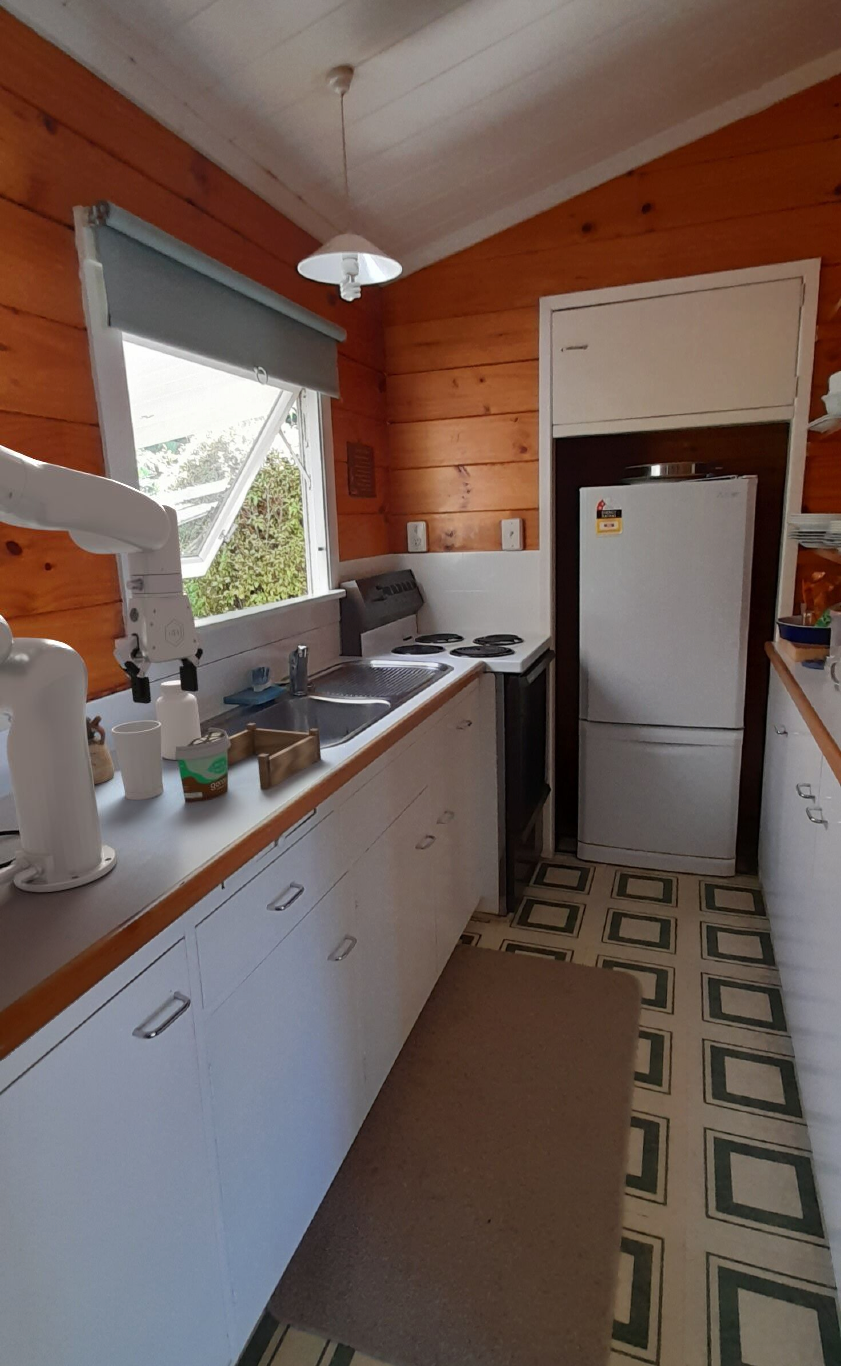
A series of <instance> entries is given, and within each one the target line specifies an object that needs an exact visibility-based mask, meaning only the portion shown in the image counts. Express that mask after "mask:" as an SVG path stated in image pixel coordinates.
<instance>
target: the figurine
mask: <svg viewBox="0 0 841 1366" xmlns="http://www.w3.org/2000/svg"><path fill="white" fill-rule="evenodd" d="M101 720H102V717H101V716H100V715H96V716H95V717H94V718H93V720H92V718H91V717H89V716H88V715H86V728H87V738H88V746H89V753H90V759H91V766H92V773H93V781H94V785H98V784H101V783H104V782H108V781H110V780H112V778H114V775H115V768H114V767H115V766H114V763H113V759H112V757H111V754H110V752H109V748H108V746H107V744H106V743H105V741H106V732H105V731H106V730H105V729H104V728H103V726H101V725H99V724H100V723H101ZM96 733H99V735H100V737H98V736H97V735H96V736H95V734H96Z"/></svg>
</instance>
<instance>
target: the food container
mask: <svg viewBox="0 0 841 1366" xmlns="http://www.w3.org/2000/svg"><path fill="white" fill-rule="evenodd" d="M229 737H230V736H229V735H228V734H227V731H226V730H224V729H221V728H217V727H208V733H206V734H205V735H203V736H201V738H197V739H194V740H193V741H192V742H191V743H190V744H189V745H187V746H182V747H178V746H176V751H175V759H177V760H176V761H177V763H178V764H177V765H178V767H179V768H178V769H179V773H180V774H179V775H180V778H181V779H180V780H181V785H182V792H183V796H184V797H183V798H184V802H185V803H197V802H205V801H209V800H214V799H217V798H219V797H222V796H223V795H225V794H226V793H227V792H228V790H229V779H228V778H229V775H228V773H229V772H228V771H229V770H228V767H229V766H228V764H227V749H228V748H229V747H230V746H231V743H230V740H229Z"/></svg>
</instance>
